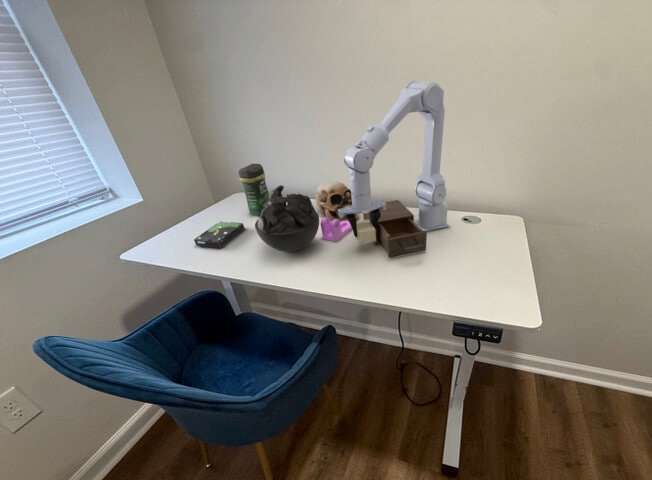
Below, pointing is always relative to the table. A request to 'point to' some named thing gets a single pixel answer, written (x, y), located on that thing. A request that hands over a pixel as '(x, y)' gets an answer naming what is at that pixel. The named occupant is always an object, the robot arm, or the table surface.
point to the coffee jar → (254, 187)
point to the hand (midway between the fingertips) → (364, 234)
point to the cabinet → (391, 214)
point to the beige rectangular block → (365, 232)
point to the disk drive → (219, 234)
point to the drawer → (401, 237)
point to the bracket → (334, 229)
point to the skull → (333, 199)
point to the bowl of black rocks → (287, 221)
